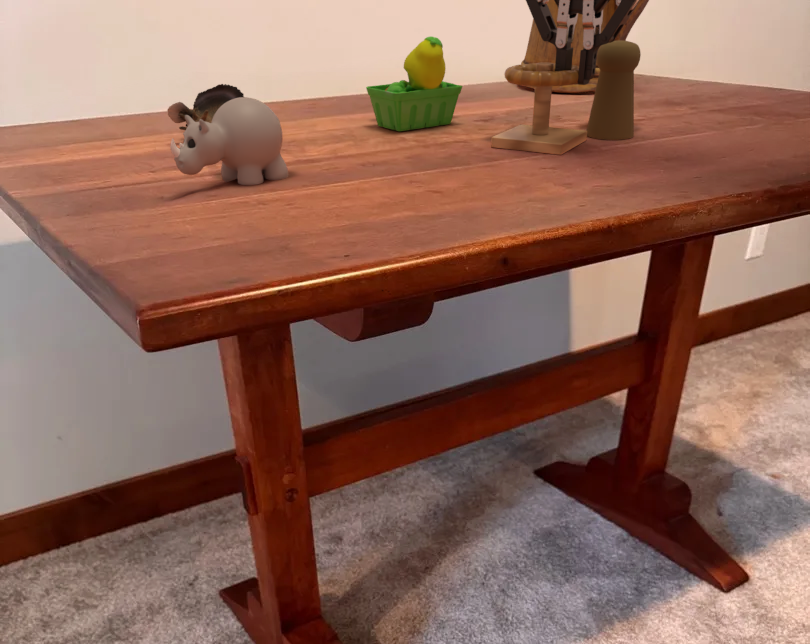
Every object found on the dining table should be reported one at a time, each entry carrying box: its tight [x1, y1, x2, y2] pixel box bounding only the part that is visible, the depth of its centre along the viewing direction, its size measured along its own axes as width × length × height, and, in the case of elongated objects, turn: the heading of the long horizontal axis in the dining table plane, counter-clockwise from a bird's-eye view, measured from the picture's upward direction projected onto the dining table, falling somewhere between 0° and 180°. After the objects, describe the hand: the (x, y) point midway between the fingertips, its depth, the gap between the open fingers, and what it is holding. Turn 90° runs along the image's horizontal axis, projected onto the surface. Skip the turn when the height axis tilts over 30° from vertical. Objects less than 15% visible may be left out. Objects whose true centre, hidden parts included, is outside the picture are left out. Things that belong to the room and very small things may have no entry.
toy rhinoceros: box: [169, 96, 290, 186], centre depth 80 cm, size 7×12×8 cm, turn 129°
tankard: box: [520, 0, 650, 94], centre depth 130 cm, size 18×24×25 cm
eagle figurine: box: [166, 83, 245, 132], centre depth 101 cm, size 8×7×9 cm
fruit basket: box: [365, 36, 463, 132], centre depth 106 cm, size 11×9×11 cm
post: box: [490, 62, 588, 156], centre depth 96 cm, size 9×9×9 cm
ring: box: [503, 63, 579, 87], centre depth 94 cm, size 9×9×2 cm
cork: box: [585, 40, 642, 141], centre depth 100 cm, size 6×6×11 cm
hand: (574, 82), depth 93 cm, fingers closed on ring, 1 cm apart
